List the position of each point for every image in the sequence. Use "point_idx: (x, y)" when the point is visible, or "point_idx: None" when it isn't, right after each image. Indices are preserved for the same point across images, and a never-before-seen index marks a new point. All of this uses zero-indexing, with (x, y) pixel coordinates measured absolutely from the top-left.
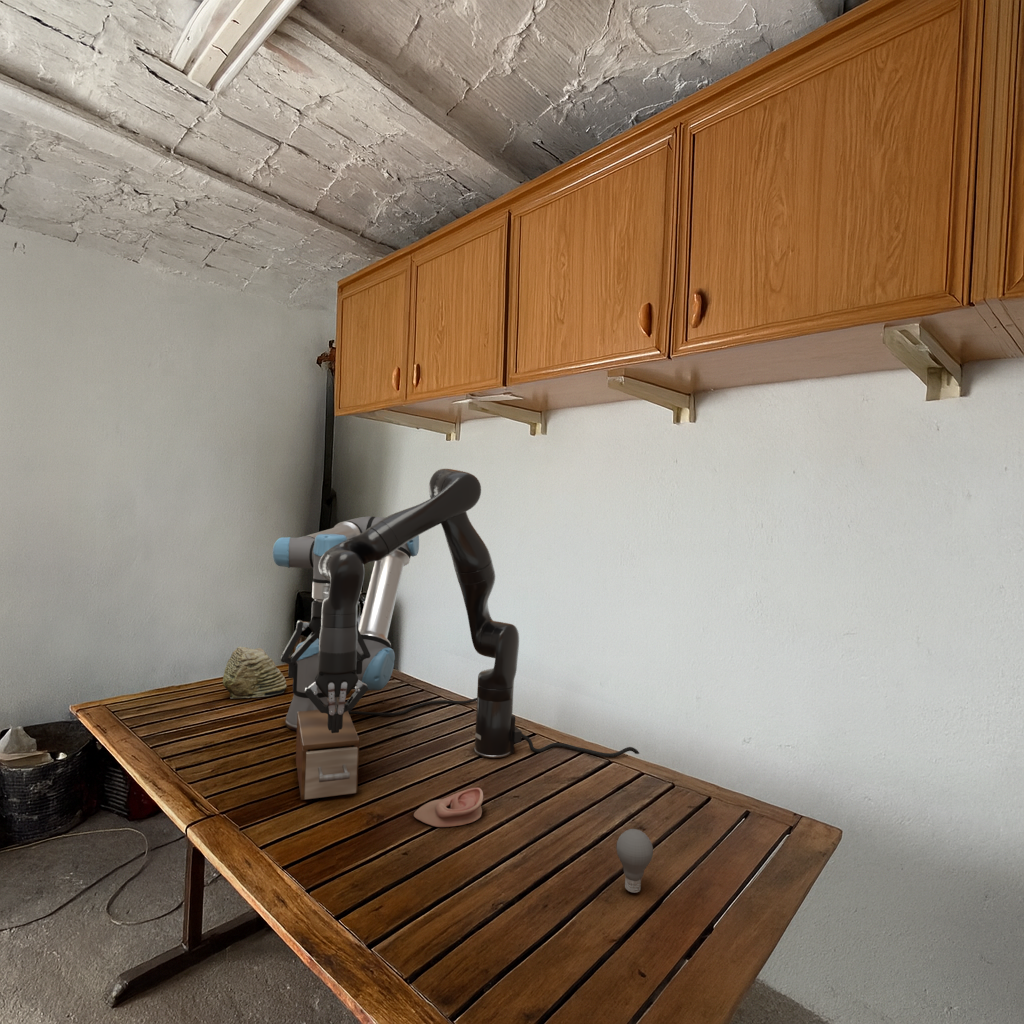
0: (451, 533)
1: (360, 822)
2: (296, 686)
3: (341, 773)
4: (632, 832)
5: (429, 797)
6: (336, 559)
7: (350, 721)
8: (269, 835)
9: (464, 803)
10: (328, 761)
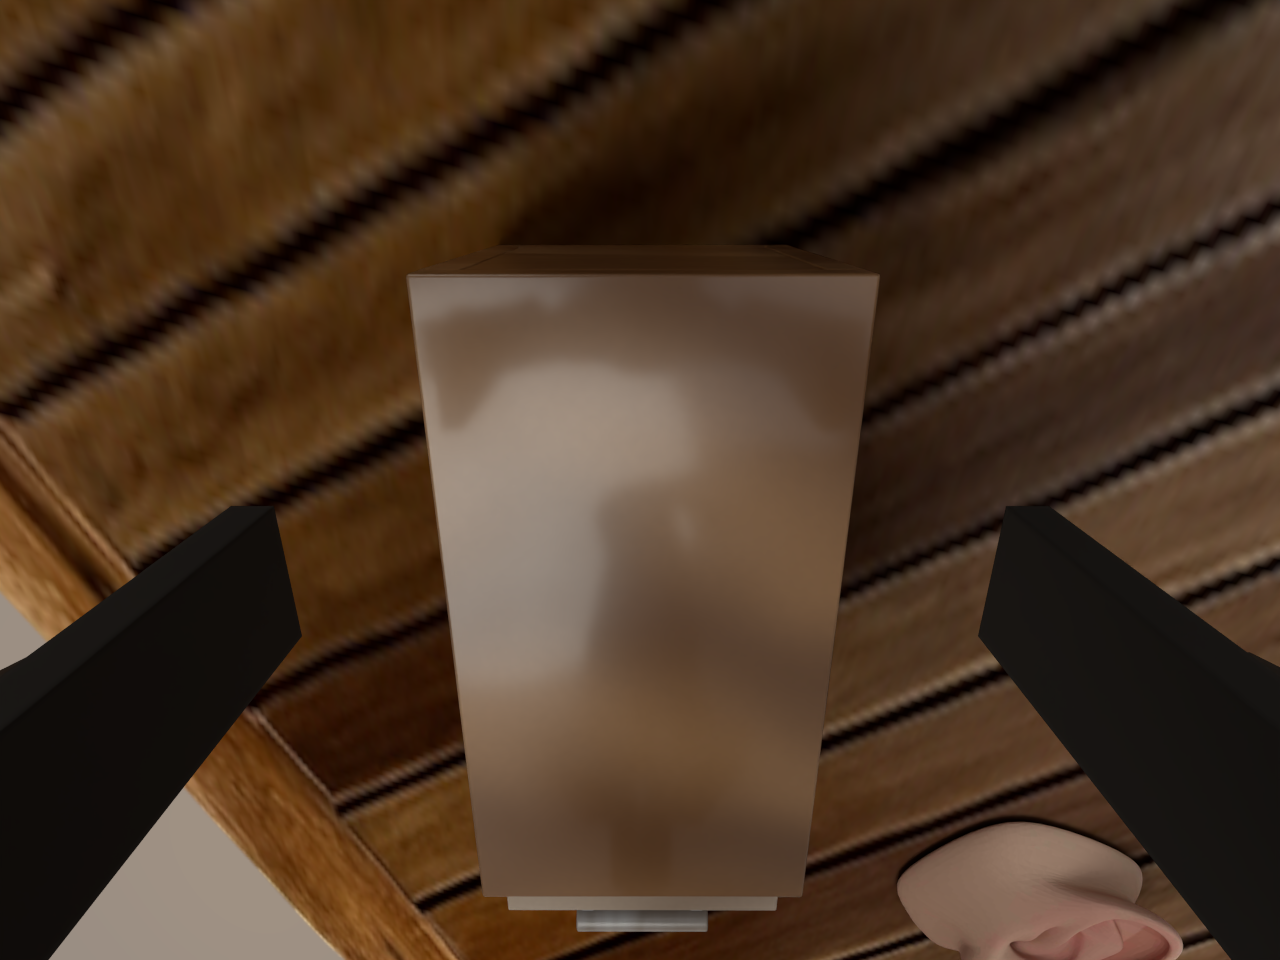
0: None
1: None
2: (256, 685)
3: (672, 929)
4: None
5: (1008, 779)
6: None
7: (824, 625)
8: (436, 860)
9: (1080, 938)
10: None
